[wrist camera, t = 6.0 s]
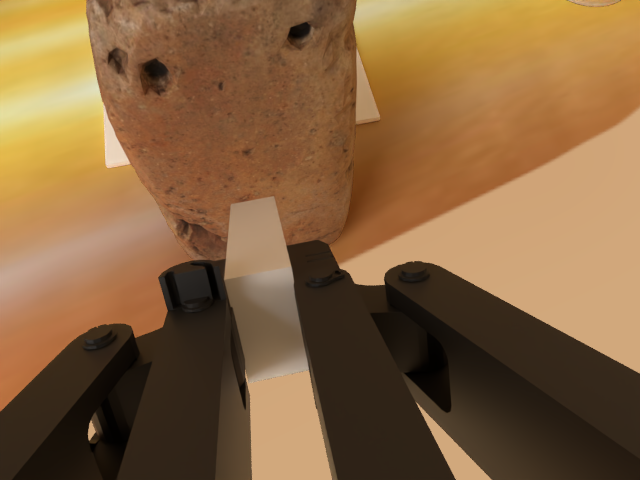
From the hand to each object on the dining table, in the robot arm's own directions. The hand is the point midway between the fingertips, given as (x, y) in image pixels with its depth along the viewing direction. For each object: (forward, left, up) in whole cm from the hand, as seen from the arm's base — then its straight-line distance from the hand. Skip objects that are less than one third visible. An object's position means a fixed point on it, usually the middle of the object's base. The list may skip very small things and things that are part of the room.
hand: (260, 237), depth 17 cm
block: (0, +8, -14) cm, 16 cm away
